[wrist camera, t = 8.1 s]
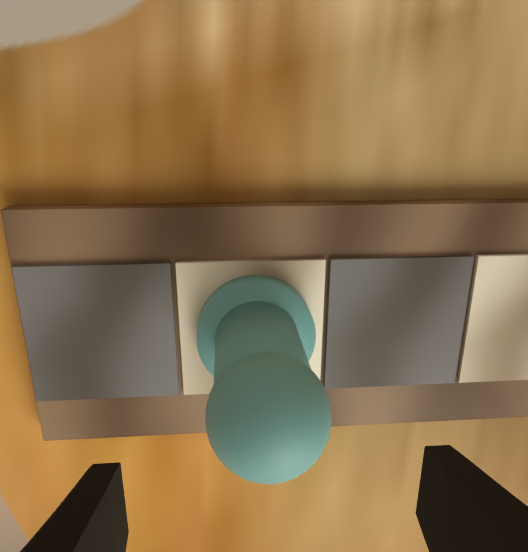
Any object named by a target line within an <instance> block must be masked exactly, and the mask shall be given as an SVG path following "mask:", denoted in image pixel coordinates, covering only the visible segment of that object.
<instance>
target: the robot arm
mask: <svg viewBox="0 0 528 552" xmlns="http://www.w3.org/2000/svg"><path fill="white" fill-rule="evenodd" d="M416 515H417V518H418V521H419V524H420V527H421V530H422V533H423V536H424V539H425V541H426V544H427V547H428V549H429V552H528V506H526V505H525V504H524V503H522V502H521V501H520V500H519V499H517V498H516V497H515V496H513V495H512V494H511V493H510V492H508V491H507V490H506V489H505V488H503V487H502V486H501V485H499V484H498V483H497V482H496V481H494V480H493V479H492V478H491V477H489V476H488V475H487V474H486V473H484V472H483V471H482V470H481V469H480V468H478V467H477V466H476V465H475V464H473V463H472V462H471V461H470V460H468V459H467V458H466V457H464V456H463V455H462V454H461V453H459V452H458V451H457V450H455V449H454V448H453V447H451V446H450V445H441V446H425V450H424V457H423V464H422V471H421V479H420V486H419V493H418V500H417V508H416ZM128 532H129V531H128V523H127V514H126V506H125V498H124V490H123V481H122V473H121V465H120V463H104V464H93V465H92V466H91V467H90V468H89V469H88V470H87V471H86V472H85V474H84V475H83V476H82V478H81V479H80V480H79V481H78V483H77V484H76V485H75V487H74V488H73V489H72V490H71V492H70V493H69V494H68V495H67V497H66V498H65V499H64V500H63V502H62V503H61V504H60V505H59V507H58V508H57V509H56V510H55V511H54V513H53V514H52V515H51V516H50V518H49V519H48V520H47V521H46V522H45V523H44V525H43V526H42V527H41V528H40V529H39V530H38V532H37V533H36V534H35V535H34V536H33V538H32V539H31V540H30V541H29V542H28V544H27V545H26V546H25V547H24V548H23V549H22V550H21V551H20V552H125V551H126V545H127V538H128Z"/></svg>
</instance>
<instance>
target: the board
mask: <svg viewBox="0 0 528 552" xmlns="http://www.w3.org/2000/svg"><path fill="white" fill-rule="evenodd" d="M1 214H2V219H3V224H4V230H5V235H6V241H7V246H8V251H9V257H10V262H11V268H12V273H13V278H14V284H15V289H16V295H17V300H18V305H19V311H20V316H21V322H22V327H23V332H24V338H25V343H26V349H27V354H28V359H29V365H30V370H31V376H32V381H33V386H34V392H35V397H36V403H37V408H38V413H39V419H40V424H41V430H42V435H43V440H44V441H50V440H70V439H90V438H109V437H129V436H149V435H169V434H189V433H207V431H206V424H205V411H206V405H207V400H208V397H209V394H210V392H211V389H212V387H213V385H214V376H213V375H211V374H210V372H209V371H208V370H207V369H206V367H205V366H204V364H203V363H202V361H201V358H200V356H199V353H198V349H197V329H198V321H199V316H200V313H201V310H202V308H203V306H204V304H205V302H206V301H207V299H208V298H209V297H210V295H211V294H212V293H213V292H214V291H215V290H216V289H218V288H219V287H220V286H222V285H223V284H225V283H226V282H228V281H230V280H233V279H235V278H238V277H242V276H247V275H266V276H271V277H274V278H278V279H280V280H282V281H284V282H286V283H288V284H289V285H291V286H292V287H293V288H294V289H296V290H297V291H298V293H299V294H300V295H301V296H302V297H303V299H304V300H305V302H306V304H307V306H308V308H309V311H310V313H311V315H312V318H313V321H314V324H315V329H316V341H315V347H314V351H313V353H312V356H311V358H310V360H309V364H310V367H311V370H312V371H313V372H314V373H315V374H316V375H317V377H318V378H319V379H320V381H321V382H322V384H323V386H324V388H325V390H326V392H327V395H328V398H329V401H330V406H331V419H332V423H331V426H347V425H367V424H387V423H407V422H426V421H446V420H466V419H486V418H506V417H525V416H528V199H495V200H420V201H345V202H270V203H195V204H120V205H45V206H9V207H7V208H4V209H2V210H1Z"/></svg>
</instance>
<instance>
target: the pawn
mask: <svg viewBox="0 0 528 552" xmlns="http://www.w3.org/2000/svg"><path fill="white" fill-rule="evenodd" d="M315 341H316V329H315V324H314V321H313V318H312V315H311V313H310V311H309V308H308V306H307V304H306V302H305V300H304V299H303V297H302V296H301V295H300V294H299V293H298V291H297V290H296V289H294V288H293V287H292V286H291V285H289V284H288V283H286V282H284V281H282V280H280V279H278V278H274V277H271V276H266V275H247V276H242V277H238V278H235V279H233V280H230V281H228V282H226V283H225V284H223V285H222V286H220V287H219V288H218V289H216V290H215V291H214V292H213V293H212V294H211V295H210V297H209V298H208V299H207V301H206V302H205V304H204V306H203V308H202V310H201V313H200V316H199V321H198V329H197V349H198V353H199V356H200V358H201V361H202V363H203V364H204V366H205V367H206V369H207V370H208V371H209V372H210V374H211V375H213V376H214V385H213V387H212V389H211V392H210V394H209V397H208V400H207V405H206V411H205V424H206V431H207V435H208V438H209V442H210V444H211V446H212V448H213V450H214V452H215V454H216V455H217V457H218V458H219V460H220V461H221V462H222V463H223V464H224V465H225V466H226V467H227V468H228V469H229V470H230V471H231V472H233V473H235V474H236V475H238V476H239V477H241V478H243V479H245V480H248V481H251V482H256V483H261V484H277V483H282V482H286V481H289V480H292V479H294V478H296V477H298V476H299V475H301V474H303V473H304V472H306V471H307V470H308V469H309V468H310V467H311V466H312V465H313V464H314V463H315V462H316V461H317V460H318V458H319V457H320V456H321V454H322V452H323V451H324V448H325V446H326V444H327V442H328V439H329V435H330V430H331V423H332V419H331V406H330V401H329V398H328V395H327V392H326V390H325V388H324V386H323V384H322V382H321V381H320V379H319V378H318V377H317V375H316V374H315V373H314V372H313V371H312V370H311V367H310V364H309V360H310V358H311V356H312V353H313V351H314V347H315Z"/></svg>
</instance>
